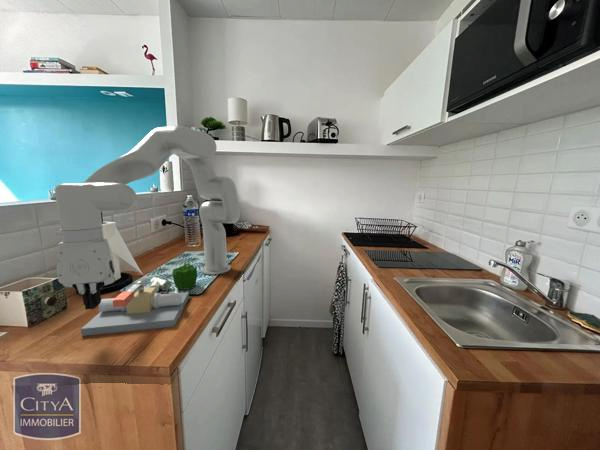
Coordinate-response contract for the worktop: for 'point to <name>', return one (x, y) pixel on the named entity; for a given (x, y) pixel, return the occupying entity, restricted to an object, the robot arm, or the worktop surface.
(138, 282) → the valve lever
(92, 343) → the worktop surface
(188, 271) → the bell pepper
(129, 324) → the pipe board
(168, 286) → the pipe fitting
